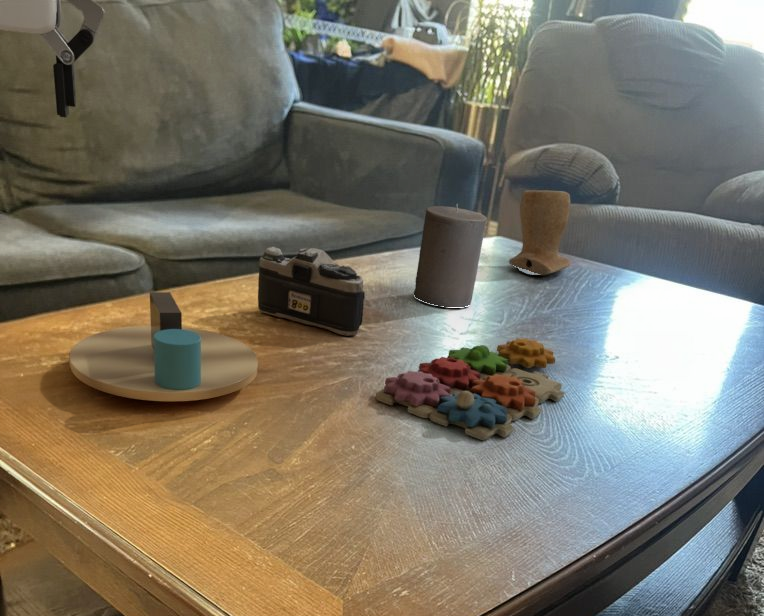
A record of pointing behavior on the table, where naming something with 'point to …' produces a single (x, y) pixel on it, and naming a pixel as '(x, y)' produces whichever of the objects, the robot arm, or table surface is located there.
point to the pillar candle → (449, 256)
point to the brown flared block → (542, 231)
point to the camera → (311, 290)
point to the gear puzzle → (477, 388)
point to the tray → (136, 359)
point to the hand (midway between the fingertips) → (2, 108)
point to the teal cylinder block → (177, 359)
